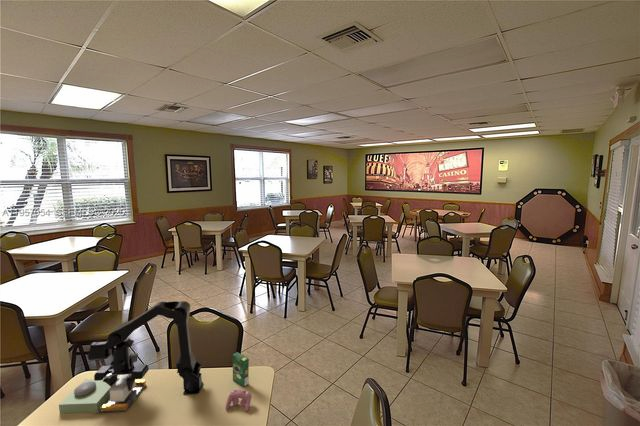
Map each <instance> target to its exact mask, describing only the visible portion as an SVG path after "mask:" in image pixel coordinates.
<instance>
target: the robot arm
mask: <svg viewBox="0 0 640 426" xmlns="http://www.w3.org/2000/svg"><path fill="white" fill-rule="evenodd" d="M190 314H191V304H190V302H188V301H186V300H182V301H159V302H156V304H154V305H153V306H151V307H150V308H149V309H147V310H146V311H144V312H141V313H140V314H139V315H138V316H136V317H134V318H133V319H131V320H129V321H125V322H122V323H119V324H118V325H116V326H115V327H114V329H113V330H112V331H111V332H110V333H109V334H108V337H107V341H93V342H92V343H90V345H89V347H90V348H89V351H88V355H87V359H88V361H90V362H91V361H98V360H99V361H100V360H107V359H108V358H109V357H110V356H111V360H112V361H111V362H110V365H102V366H101V367H99V369H98V370H97V371H96V372H95V373H94V376H93V379H94V380H95V381H98V380H102V379H104V380H103V382H106V383H107V384H108V385H109V386H110V387H111V386H112V385H113V384H114V383H115V381H116V380H117V378H118V376H121V375H127V374H129V375H130V376H129V378H128V379H127V380H126V382H127V386H128V390H129V391H131V389H132V386H133V383H134V380H143V378H144V377H145V376H146V374H147V373H148V371H150V370H149V369H150V367H149V364H147V363H146V364H138V365H137V366H135V367H133V365H134V363H136V362H138V358H139V357H138V356H139V354H138V352H136V353H135V352H134V353H133V352H132V353H130V348H131V347H132V346H133V344H135V341H134V340H133V339H131V338H128V337H129V336H131V334H133V332H135V331H136V330H138V329H140V327H142V326H143V325H144V326H145V324H146V323H148V322H150V321H151V320H153V319H154V318H156V317H157V316H162V317H164V318H166V319H172V320H173V322H174V324H175V326H176V327H177V335H178V342H179V343H178V344H179V353H180V355H179V357H178V359H177V362H176V369H177V370H176V374H178V375H179V377H180V378H182V380H183V381H182V382H183V385H182V387H183V390H184V391H182V392H183V393H182V394H183V395H195V394H196V395H197V394H199V393H200V392H201V389H202V387H203V385H204V382H203V379H202V372H201V368H202V363H200V362H198V361H196V360H197V359H196V356H195V354H194V353H193V351H192V345H191V334H190V327H189V320H190V319H189V318H190ZM131 367H132V368H131Z"/></svg>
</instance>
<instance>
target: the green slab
mask: <svg viewBox="0 0 640 426" xmlns="http://www.w3.org/2000/svg"><path fill="white" fill-rule="evenodd" d="M118 378H119V377H117V379H118ZM103 380H104V378H103V379H102V380H98V381H95V380H94V378H85V379H84V380H83V381H82V382H81V383H79V384H78V385H77V386H76V387H75V388H74V389H73V390H72V391H71V392H70V393H69V394H68V395H67V396H66V397H65V398H64V399H63V400H62V401H61V402H60V403H59V404H58V409H59V410H58V411H59V414H60V415H63V414H86V413H87V414H88V413H91V414H92V413H99V411H100V409H101V408H102V406H103V405H104V404H105V403H106V402H107V401H108V400H109V399H110V390H109V388H110V386H109V385H108V384H107V383H106V382H103Z"/></svg>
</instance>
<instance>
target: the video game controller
mask: <svg viewBox="0 0 640 426" xmlns="http://www.w3.org/2000/svg"><path fill="white" fill-rule="evenodd" d="M252 397H253V395H252V393H251V392H249V391H247V390H245V389H234V390H232V391H231V392H230V393H229V394H228V396H227V399H226V402H225V410H229V408H230V406H231V404H233V405H234V406H237V405H238V404H240V406H241V407H244V406H245V412H249V410H250V407H251V401H252ZM239 399H241V400H239Z"/></svg>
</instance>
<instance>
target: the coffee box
mask: <svg viewBox="0 0 640 426" xmlns="http://www.w3.org/2000/svg"><path fill="white" fill-rule="evenodd" d="M249 360H250V359H249V357H247V356H245V355H243V354H242V353H240V352H238V351H236V352H235V353H233V354H232V380H233V381H234V382H235V383H237V384H238V385H240V386H241V385H242V387H243V386H244V387H243V388H245V387H246V386H248V385H249V369H250V368H249ZM247 384H248V385H247Z"/></svg>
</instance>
